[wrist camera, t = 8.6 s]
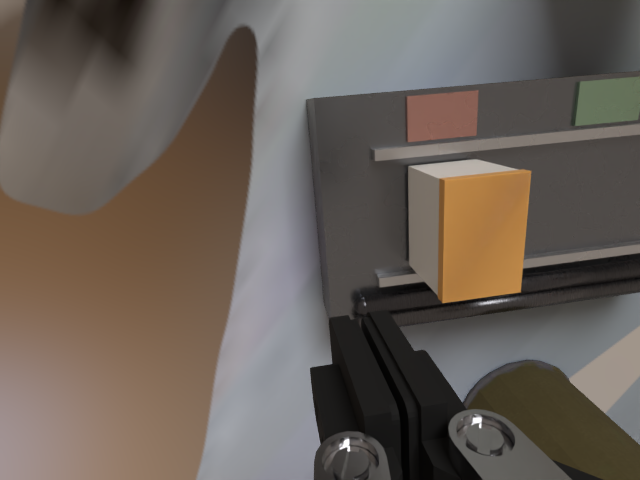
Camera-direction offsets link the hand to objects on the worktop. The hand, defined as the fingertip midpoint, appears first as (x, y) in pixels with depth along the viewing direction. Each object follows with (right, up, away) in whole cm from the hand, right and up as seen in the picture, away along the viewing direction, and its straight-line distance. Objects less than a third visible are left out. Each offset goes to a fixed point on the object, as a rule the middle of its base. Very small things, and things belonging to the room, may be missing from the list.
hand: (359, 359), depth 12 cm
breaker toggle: (+6, +5, +12) cm, 15 cm away
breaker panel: (+10, +7, +17) cm, 21 cm away
